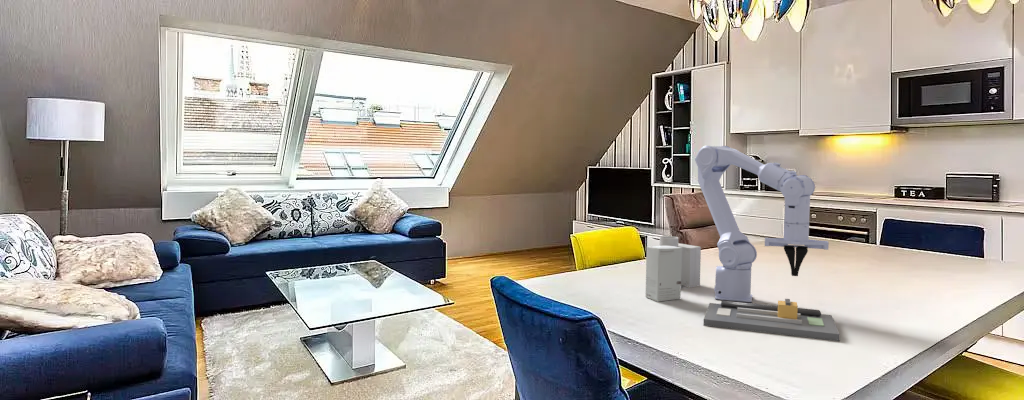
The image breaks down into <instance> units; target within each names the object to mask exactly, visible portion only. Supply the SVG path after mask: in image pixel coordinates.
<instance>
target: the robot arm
mask: <svg viewBox="0 0 1024 400" xmlns="http://www.w3.org/2000/svg"><path fill="white" fill-rule="evenodd" d="M694 161H695V164H696V166H697V181H698V185H699V187H700V190H701V192H702V194H703V196H704V200H705V202H706V204H707V207H708V209H709V212H710V214H711V218H712V220H713V222H714V224H715V228H716V230H717V232H718V235H719V237H720V238H719V240H718V242H717V244H716V246H717V248H718V259H719V261H720V263H721V264H722V265H721V266H720V265H717V266H716V267H715V280H714V281H715V285H714V299H715V300H720V301H732V302H742V303H752V302H753V294H751V293H752V292H751V291H752V290H751V289H752V267H753V263H754V262H755V261H756V260H757V256H758V253H757V249H756V247H755V246H754V244H752V243H751V241H750V240H749V237H748V236H747V235H746V234H745V233H743V232H742V231H741V230H740V228H739V225H738V223H737V221H736V218H735V216H734V214H733V212H732V209H731V206H730V204H729V202H728V199H727V197H726V194H725V192H724V189H723V188H722V185H721V182H720V179H721V178H722V176H723V174H724V173H726V171H727V170H728V169H729V168H730V166H731V165H732V166H736V167H738V168H741V169H742V170H745V171H747V172H749V173H752V174H754V175H756V176H757V177H758V180H759V182H760V183H763V184H765V185H766V186H767V187H770V188H772V189H775V190H776V191H778V192H780V193H781V194H782V196H783V197H784V198H783V199H784V216H783V217H784V218H783V219H784V220H783V237H764V247H781V248H783V250H784V252H785V254H786V256H787V259H788V263H789V266H790V271H791V272H790V274H791V276H792V277H798V276H799V272H800V268H801V265H802V263H803V260H805V258H806V255H807V254H808V252H809V250H808V249H816V250H819V249H820V250H826V251H827V250H828V251H829V248H830V247H829V244H830V243H829V241H828V240H818V239H817V240H816V239H809V237H810V236H809V235H810V216H811V215H810V213H811V212H810V210H811V196H813V194H814V192H815V189H816V185H815V182H814V180H813V179H812V178H811V177H809V176H808V175H805V174H800V175H798V174H797V171H795V170H788V169H786V168H784V167H782V166H781V163H779V162H777V161H776V162H767V163H765V164H764V163H762V162H760V161H759V160H756V158H753V157H751V156H749V155H747V154H745V153H743V152H741V151H739V149H736V148H733V147H730V146H727V145H716V146H715V145H704V146H701V147H700V148H699V150H698V151H697V154H696V156H695V158H694Z"/></svg>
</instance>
